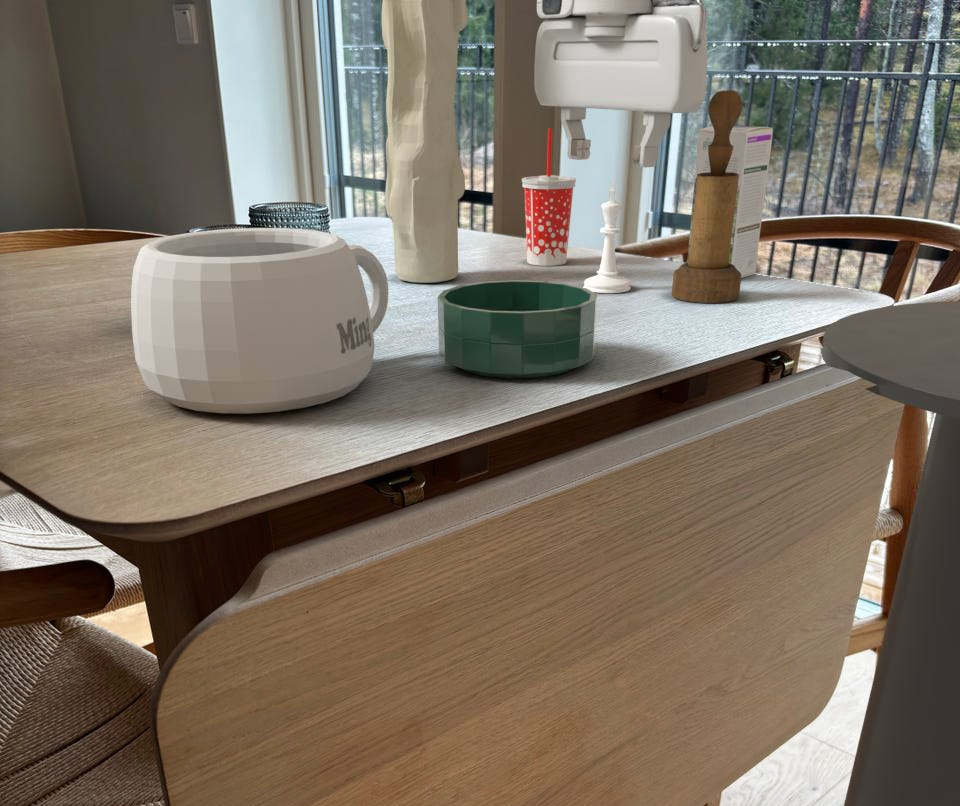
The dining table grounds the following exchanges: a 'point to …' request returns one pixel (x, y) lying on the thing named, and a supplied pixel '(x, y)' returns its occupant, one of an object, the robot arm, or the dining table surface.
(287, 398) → the mug
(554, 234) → the beverage cup
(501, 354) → the green round bowl
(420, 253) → the vase
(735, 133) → the syrup box
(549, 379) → the dining table surface
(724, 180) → the mortar and pestle
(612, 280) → the chess piece
